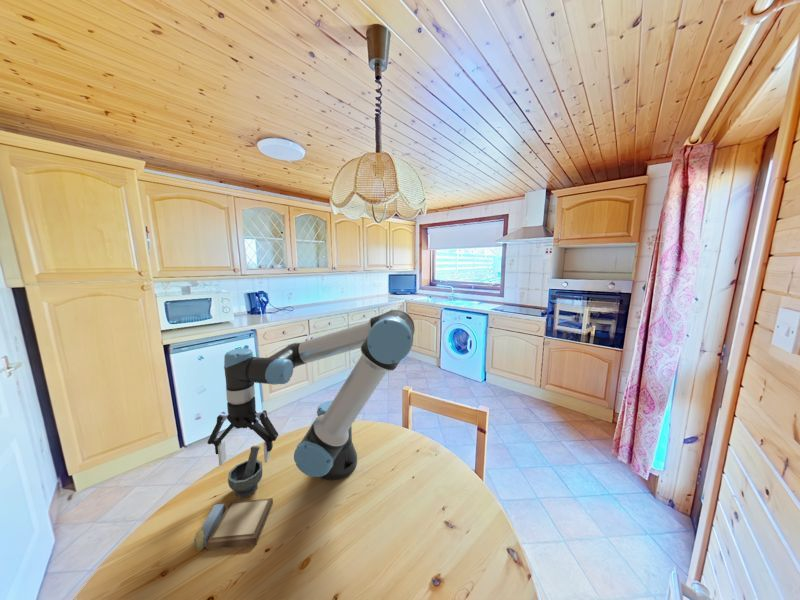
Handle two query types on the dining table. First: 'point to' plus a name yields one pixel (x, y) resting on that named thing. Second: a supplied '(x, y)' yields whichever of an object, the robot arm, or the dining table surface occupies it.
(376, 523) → the dining table surface
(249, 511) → the stand
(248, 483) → the mortar and pestle
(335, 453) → the robot arm
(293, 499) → the dining table surface
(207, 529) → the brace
